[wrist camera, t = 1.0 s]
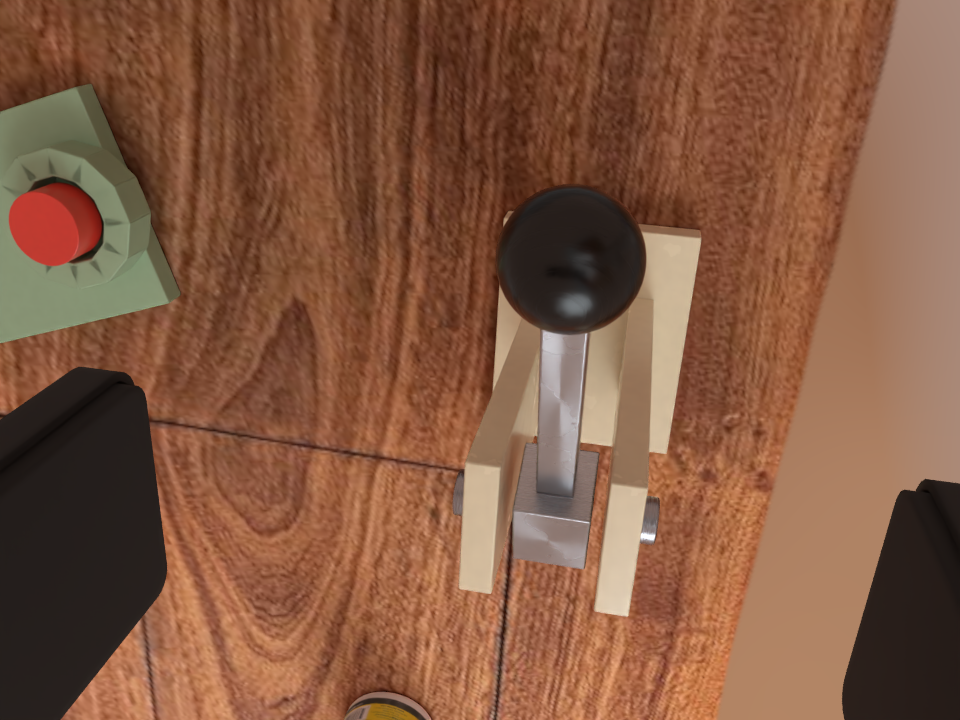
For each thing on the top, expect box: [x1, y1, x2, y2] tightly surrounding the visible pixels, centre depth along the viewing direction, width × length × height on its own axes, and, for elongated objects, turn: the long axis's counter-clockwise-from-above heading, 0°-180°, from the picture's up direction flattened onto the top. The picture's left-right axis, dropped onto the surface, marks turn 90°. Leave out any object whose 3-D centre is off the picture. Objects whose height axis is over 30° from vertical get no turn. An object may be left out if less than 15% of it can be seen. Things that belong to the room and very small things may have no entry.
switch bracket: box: [453, 211, 701, 617], centre depth 32 cm, size 10×8×16 cm
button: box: [9, 182, 102, 266], centre depth 38 cm, size 3×3×2 cm
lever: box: [496, 184, 647, 569], centre depth 23 cm, size 13×3×3 cm, turn 177°
